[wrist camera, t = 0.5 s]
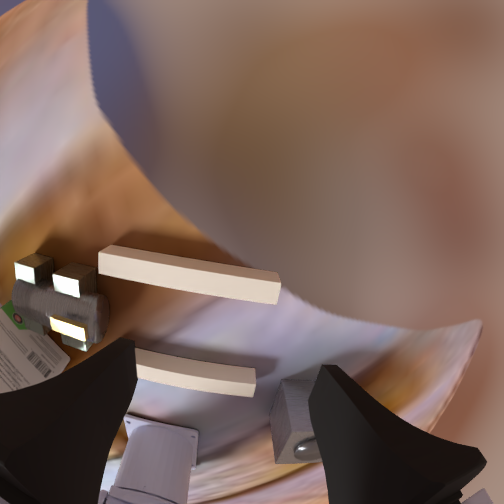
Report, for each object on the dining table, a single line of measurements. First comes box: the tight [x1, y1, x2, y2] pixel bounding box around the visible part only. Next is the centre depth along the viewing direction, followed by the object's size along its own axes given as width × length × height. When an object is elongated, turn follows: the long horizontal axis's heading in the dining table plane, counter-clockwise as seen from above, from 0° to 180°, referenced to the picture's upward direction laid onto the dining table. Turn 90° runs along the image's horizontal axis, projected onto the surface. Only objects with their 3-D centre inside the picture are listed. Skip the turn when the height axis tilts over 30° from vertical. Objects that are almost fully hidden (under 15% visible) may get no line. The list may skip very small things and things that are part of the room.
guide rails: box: [98, 245, 281, 397], centre depth 18 cm, size 10×12×2 cm
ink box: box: [0, 300, 70, 393], centre depth 14 cm, size 9×5×12 cm, turn 41°
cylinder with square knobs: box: [12, 253, 110, 352], centre depth 16 cm, size 6×8×4 cm
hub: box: [269, 379, 322, 464], centre depth 19 cm, size 5×5×6 cm
